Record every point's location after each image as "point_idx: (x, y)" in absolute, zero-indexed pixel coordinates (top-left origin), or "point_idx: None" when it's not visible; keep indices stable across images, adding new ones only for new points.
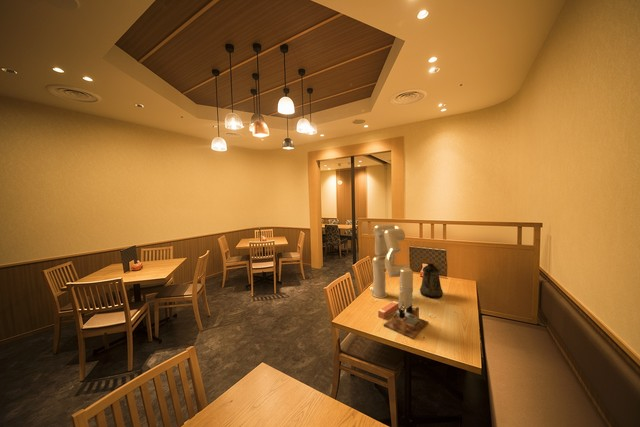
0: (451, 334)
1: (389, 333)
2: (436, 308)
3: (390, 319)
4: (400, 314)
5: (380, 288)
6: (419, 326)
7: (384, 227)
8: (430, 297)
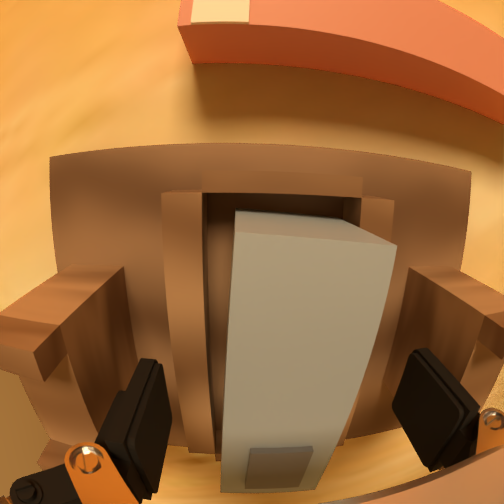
0: (340, 499)
1: (19, 269)
2: None
3: (203, 146)
4: (106, 425)
5: None
6: None
7: None
8: None
